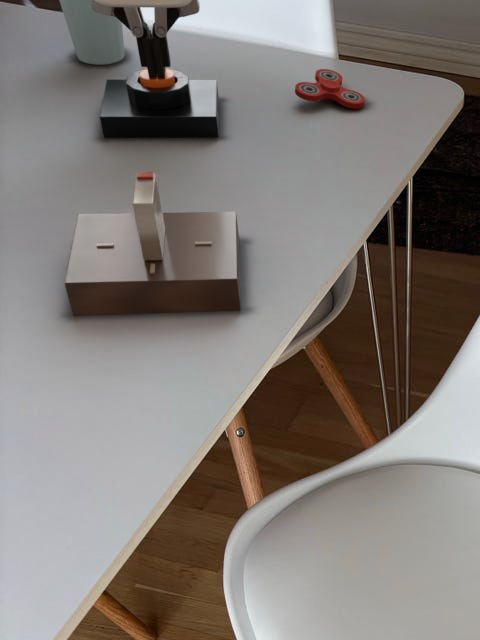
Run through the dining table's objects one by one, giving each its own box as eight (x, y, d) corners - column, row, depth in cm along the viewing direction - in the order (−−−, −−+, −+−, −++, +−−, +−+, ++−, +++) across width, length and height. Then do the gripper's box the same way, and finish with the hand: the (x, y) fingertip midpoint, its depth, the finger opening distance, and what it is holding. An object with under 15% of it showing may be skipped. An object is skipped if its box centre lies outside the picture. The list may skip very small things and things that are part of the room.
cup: (86, 40, 126) (66, -58, 118) (144, 50, 125) (128, -49, 117) (56, 62, 121) (33, -39, 113) (116, 72, 120) (97, -29, 112)
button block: (104, 138, 109) (95, 98, 106) (110, 100, 115) (103, 61, 112) (218, 137, 110) (213, 98, 108) (219, 100, 117) (214, 62, 114)
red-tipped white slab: (163, 260, 87) (152, 200, 83) (143, 260, 87) (131, 200, 83) (165, 229, 91) (155, 170, 87) (146, 229, 90) (135, 170, 87)
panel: (72, 315, 86) (63, 281, 84) (85, 245, 94) (77, 211, 91) (241, 310, 88) (236, 277, 86) (239, 242, 96) (235, 209, 94)
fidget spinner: (290, 84, 116) (289, 96, 117) (347, 110, 115) (346, 121, 116) (323, 63, 121) (322, 74, 122) (378, 87, 120) (377, 98, 121)
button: (141, 97, 109) (138, 80, 108) (142, 84, 112) (140, 67, 110) (175, 97, 110) (173, 80, 108) (176, 84, 112) (174, 67, 111)
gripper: (34, -128, 92) (82, 88, 106) (203, -123, 94) (228, 87, 108) (44, -149, 97) (88, 60, 111) (204, -143, 99) (228, 60, 113)
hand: (157, 73), depth 109 cm, fingers closed
